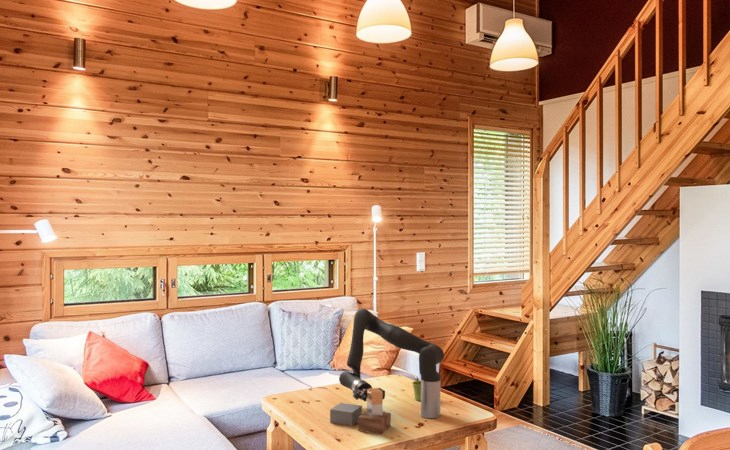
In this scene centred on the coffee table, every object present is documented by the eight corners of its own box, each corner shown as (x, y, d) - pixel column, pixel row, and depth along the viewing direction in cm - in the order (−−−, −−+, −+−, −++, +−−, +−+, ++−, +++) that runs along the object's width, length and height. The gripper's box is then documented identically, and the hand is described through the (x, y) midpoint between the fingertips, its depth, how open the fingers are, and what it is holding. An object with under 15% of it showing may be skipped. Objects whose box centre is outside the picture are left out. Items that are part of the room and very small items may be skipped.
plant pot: (420, 395, 315) (420, 379, 315) (433, 399, 308) (434, 383, 308) (408, 399, 308) (408, 382, 308) (422, 403, 302) (422, 386, 301)
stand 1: (340, 415, 283) (340, 402, 283) (361, 418, 278) (361, 405, 278) (330, 422, 273) (330, 409, 273) (351, 425, 268) (351, 412, 268)
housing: (377, 412, 269) (377, 388, 269) (382, 416, 264) (382, 391, 263) (367, 413, 267) (367, 389, 267) (371, 417, 262) (372, 392, 262)
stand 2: (368, 422, 273) (368, 409, 273) (390, 426, 268) (390, 412, 268) (358, 430, 263) (358, 416, 263) (381, 434, 258) (381, 420, 258)
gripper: (347, 382, 278) (359, 391, 263) (375, 379, 283) (389, 388, 268) (347, 398, 278) (359, 408, 263) (375, 394, 283) (389, 404, 268)
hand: (374, 398), depth 265 cm, fingers open, 8 cm apart
